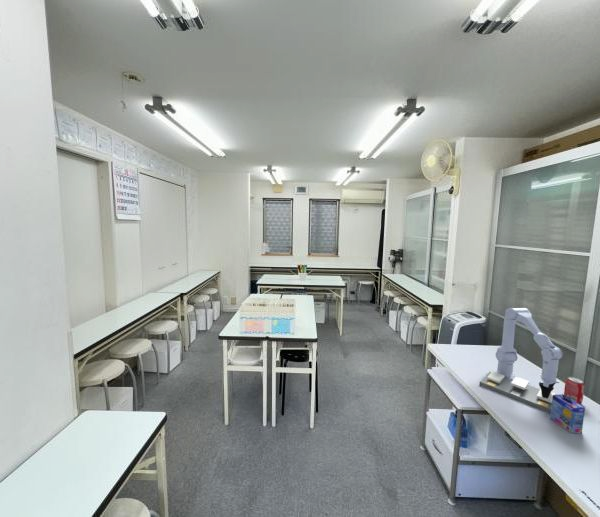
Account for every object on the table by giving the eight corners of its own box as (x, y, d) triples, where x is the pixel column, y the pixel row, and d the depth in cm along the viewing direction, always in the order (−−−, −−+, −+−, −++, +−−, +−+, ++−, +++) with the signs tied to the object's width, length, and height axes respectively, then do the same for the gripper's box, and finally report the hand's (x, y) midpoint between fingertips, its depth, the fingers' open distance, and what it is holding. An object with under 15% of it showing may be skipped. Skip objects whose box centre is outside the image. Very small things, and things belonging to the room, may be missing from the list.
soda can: (576, 398, 145) (579, 377, 143) (585, 407, 138) (588, 384, 137) (560, 395, 147) (563, 374, 146) (567, 403, 140) (571, 381, 139)
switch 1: (492, 373, 164) (492, 371, 163) (504, 377, 159) (504, 375, 159) (487, 378, 157) (487, 376, 157) (499, 383, 153) (499, 381, 152)
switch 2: (515, 378, 155) (515, 376, 155) (528, 383, 150) (529, 381, 150) (510, 384, 149) (511, 382, 148) (524, 389, 144) (524, 387, 144)
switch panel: (489, 374, 167) (490, 370, 167) (560, 400, 143) (561, 396, 143) (479, 384, 156) (480, 380, 156) (555, 415, 132) (555, 410, 131)
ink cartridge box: (548, 418, 129) (552, 389, 128) (559, 417, 130) (563, 389, 128) (571, 433, 120) (575, 403, 118) (582, 433, 120) (587, 402, 118)
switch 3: (540, 390, 147) (540, 388, 147) (555, 395, 142) (555, 393, 142) (536, 397, 140) (536, 395, 140) (552, 403, 136) (552, 401, 136)
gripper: (558, 378, 132) (554, 404, 134) (562, 368, 141) (559, 393, 143) (539, 372, 137) (535, 397, 139) (544, 363, 147) (541, 387, 148)
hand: (546, 394), depth 141 cm, fingers open, 7 cm apart
